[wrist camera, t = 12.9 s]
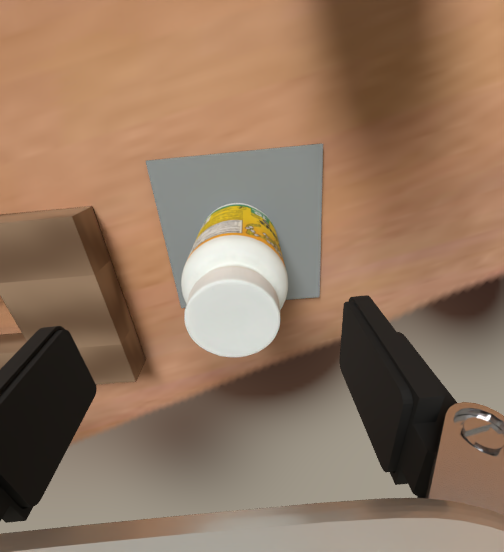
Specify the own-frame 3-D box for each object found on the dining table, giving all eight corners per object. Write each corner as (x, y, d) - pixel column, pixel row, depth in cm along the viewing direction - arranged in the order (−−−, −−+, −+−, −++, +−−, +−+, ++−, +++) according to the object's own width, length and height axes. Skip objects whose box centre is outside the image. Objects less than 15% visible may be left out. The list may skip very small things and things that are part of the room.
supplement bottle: (188, 215, 19) (142, 284, 11) (264, 190, 19) (278, 244, 10) (217, 281, 22) (196, 380, 13) (285, 262, 21) (309, 353, 13)
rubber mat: (147, 160, 18) (145, 161, 18) (321, 143, 18) (323, 144, 17) (182, 305, 23) (181, 308, 23) (318, 294, 23) (319, 297, 23)
